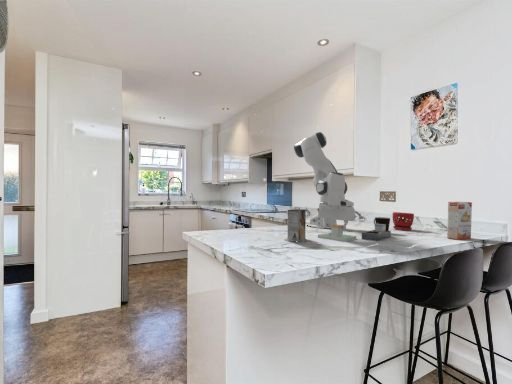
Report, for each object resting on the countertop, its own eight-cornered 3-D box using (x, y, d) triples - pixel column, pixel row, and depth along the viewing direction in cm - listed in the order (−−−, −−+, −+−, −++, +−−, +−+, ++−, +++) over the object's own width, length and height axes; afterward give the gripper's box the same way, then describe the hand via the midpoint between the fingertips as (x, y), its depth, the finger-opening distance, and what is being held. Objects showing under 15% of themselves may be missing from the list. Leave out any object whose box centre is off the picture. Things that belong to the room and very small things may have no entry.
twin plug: (374, 236, 153) (374, 224, 153) (378, 235, 157) (378, 223, 157) (382, 237, 150) (382, 225, 150) (385, 236, 154) (385, 224, 154)
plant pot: (409, 231, 182) (409, 213, 182) (389, 229, 192) (389, 212, 192) (416, 230, 190) (416, 212, 190) (396, 228, 200) (397, 211, 200)
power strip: (361, 240, 145) (361, 231, 145) (376, 236, 160) (376, 228, 160) (377, 242, 140) (377, 233, 140) (390, 237, 154) (390, 230, 154)
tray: (318, 238, 148) (318, 234, 148) (329, 236, 157) (329, 232, 157) (345, 242, 137) (345, 238, 137) (356, 239, 145) (356, 236, 145)
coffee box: (294, 238, 147) (294, 208, 147) (305, 240, 143) (306, 209, 143) (287, 241, 139) (287, 209, 139) (298, 242, 135) (299, 210, 135)
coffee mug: (391, 235, 164) (392, 218, 164) (376, 234, 166) (376, 218, 166) (386, 232, 176) (386, 216, 176) (372, 231, 178) (372, 216, 178)
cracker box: (458, 240, 149) (459, 202, 149) (446, 238, 155) (447, 201, 155) (472, 238, 156) (472, 201, 156) (460, 236, 161) (460, 201, 161)
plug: (331, 238, 146) (331, 225, 146) (335, 237, 150) (335, 224, 150) (338, 239, 143) (338, 225, 143) (342, 238, 147) (343, 225, 147)
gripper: (316, 201, 152) (315, 226, 152) (351, 203, 137) (350, 230, 137) (322, 201, 156) (321, 225, 156) (356, 202, 142) (356, 229, 142)
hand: (335, 228), depth 147 cm, fingers open, 8 cm apart
